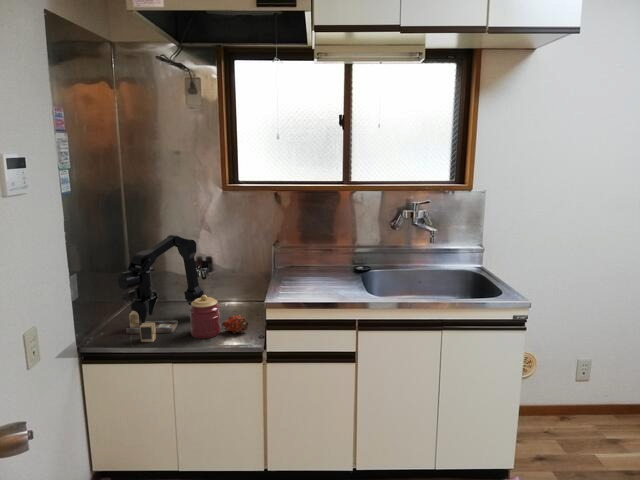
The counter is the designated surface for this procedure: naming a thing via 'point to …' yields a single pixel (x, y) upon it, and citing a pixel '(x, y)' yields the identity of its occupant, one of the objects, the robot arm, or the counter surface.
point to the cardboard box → (148, 332)
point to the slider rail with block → (159, 325)
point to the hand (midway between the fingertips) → (147, 318)
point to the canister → (205, 317)
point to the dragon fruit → (236, 324)
